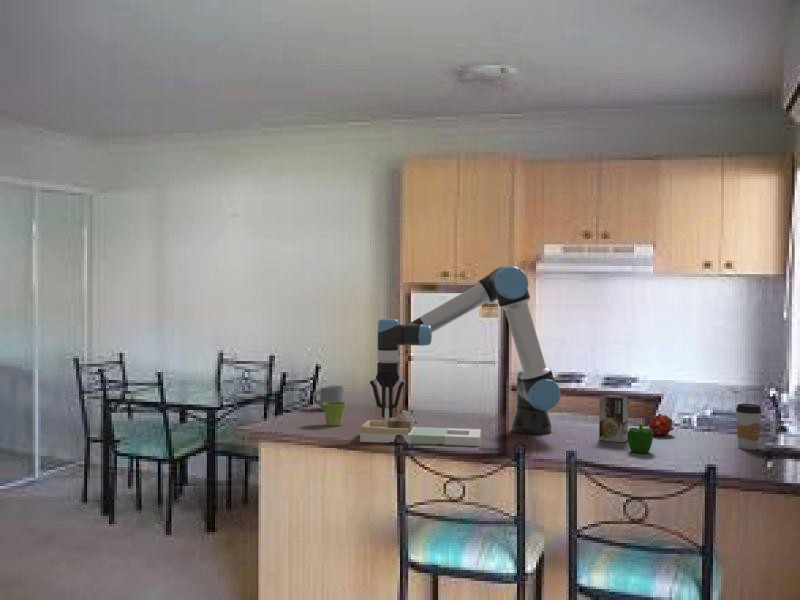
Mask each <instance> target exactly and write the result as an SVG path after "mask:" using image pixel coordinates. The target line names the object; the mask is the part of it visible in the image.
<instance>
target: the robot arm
mask: <svg viewBox="0 0 800 600" xmlns="http://www.w3.org/2000/svg"><path fill="white" fill-rule="evenodd" d="M528 288H529V278H528V276H527V274H526V273H525V272H524V270H522V269H521V268H519V267H517V266H515V265H507V266H501V267H498V268H497V267H496V268H495V269H494V270H493V271H491V272H490V273H489V274H487V275H486V276H484V277H483V278H481V279H479V280H478V281H476V285H474V286H472V287H470V288H469V289H467V290H465V291H464V292H461V293H460V294H458V295H456V296H455V297H453V298H451V299H449V300H447V301H446V302H444V303H442V304H440V305H439V306H437V307H434V309H432V310H430V311H428V312H427V313H425V314H422V315H421V316H420V317H418V318H416V319H413V320H412V321H410V322H407V323H405V324H400V323H399V320H398V319H397V318H380V319H379V320H378V322H377V353H376V355H377V361H378V362H377V365H376V366H377V368H376V370H377V372H376V376H375V378H374V379H371V380H370V381H369V384H370V385H371V387H372V390H373V395H374V398H375V399H374V400H375V403H376V407H377V408H380V409H381V417H382V419H383V418H384V421H385V427H388V420H389V419H390V418H392V417H394V413H393V411H394V410H393V409H395V408H397V407H399V402H400V399H401V394H402V390H403V387H404V385H405V384H406V381H405V380H403V379H401V378H400V375H399V363H398V361H399V346H421V347H423V346H430V345H431V344H432V335H433V333H434V332H436V331H437V330H440V329H441V328H443V327H445V326H447V325H448V324H451V323H452V322H453V321H455V320H458V319H460V318H461V317H463V316H465V315H467V314H468V313H470V312H472V311H474V310H475V309H477V308H479V307H481V306H483V305H485V304H491V303H493V302H495V301H497V303H498V305H499V308H500V309H503V311H504V312H505V316H506V318H507V323H508V326H509V328H510V332H511V336H512V339H513V343H514V347H515V349H516V353H517V356H518V360H519V362H520V366H521V370H522V371H518V373H517V375H516V410H515V414H514V416H513V417H514V418H513V420H512V423H511V431H512V432H514V433H515V432H516V433H519V434H526V435H545V434H549V433H551V432H552V429H553V428H552V422H551V420H550V417H549V413H548V411H550V410H551V409H553V408H555V407H556V406H557V405H558V403H559V402H560V400H561V396H562V393H561V392H562V391H561V388H560V386H559V384H558V383H557V382H556V381H555V377H554V374H553V370H552V369H551V368H550V367H548V366H547V365H546V362H545V358H544V356H543V352H542V349H541V346H540V345H541V344H540V341H539V338H538V335H537V331H536V327H535V325H534V321H533V317H532V314H531V311H530V307H529V304H528V303H529V301H530V299H531V296H530V292H529V289H528ZM378 384H379V386H381V399H380V393H379V390H378V386H377V385H378ZM396 384H398V387H397V391H396V395H395V399H394V388H395V387H394V386H395V385H396ZM387 388H388V408H387Z"/></svg>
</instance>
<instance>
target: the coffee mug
mask: <svg viewBox="0 0 800 600" xmlns="http://www.w3.org/2000/svg"><path fill="white" fill-rule="evenodd" d="M317 395H319V398H320V399H319V400H318V399H317ZM312 399H313V402H314V403H315V404H317V405H318V406H320V410H321V411H324V412H325V410H324V406H323V404H322V403H324V402H344V386H342V385H323V386H320V389H319V390H315V391H314V392H313V394H312Z"/></svg>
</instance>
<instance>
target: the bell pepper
mask: <svg viewBox="0 0 800 600" xmlns="http://www.w3.org/2000/svg"><path fill="white" fill-rule="evenodd" d="M644 427H645V425H644V423H640V424H639V425H638V428H637V427H634V426H633V427H629V428H628V442H627V443H628V446H629V450H630V451H631V452H632V453H638V454H647V453H649V451H650V450H651V448H652V445H653V439H654V435H653V432H652V430H651V429H650V428H644Z"/></svg>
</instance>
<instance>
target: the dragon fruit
mask: <svg viewBox="0 0 800 600" xmlns="http://www.w3.org/2000/svg"><path fill="white" fill-rule="evenodd" d="M647 425H648V427H649V428H648V429H651V430H652V433H653V437H658V436H657V435H659V436H661V435H663V436H664V435H665V436H664V437H667V436H668V435H670V432H671V431H674V427H673V419H672V418H670V417H669V416H668V415H665V414H664V415H663V414H661V413H658V414H657V415H655V416H652V417H651V419H650V420H649V422H648V424H647ZM666 435H667V436H666Z"/></svg>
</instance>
